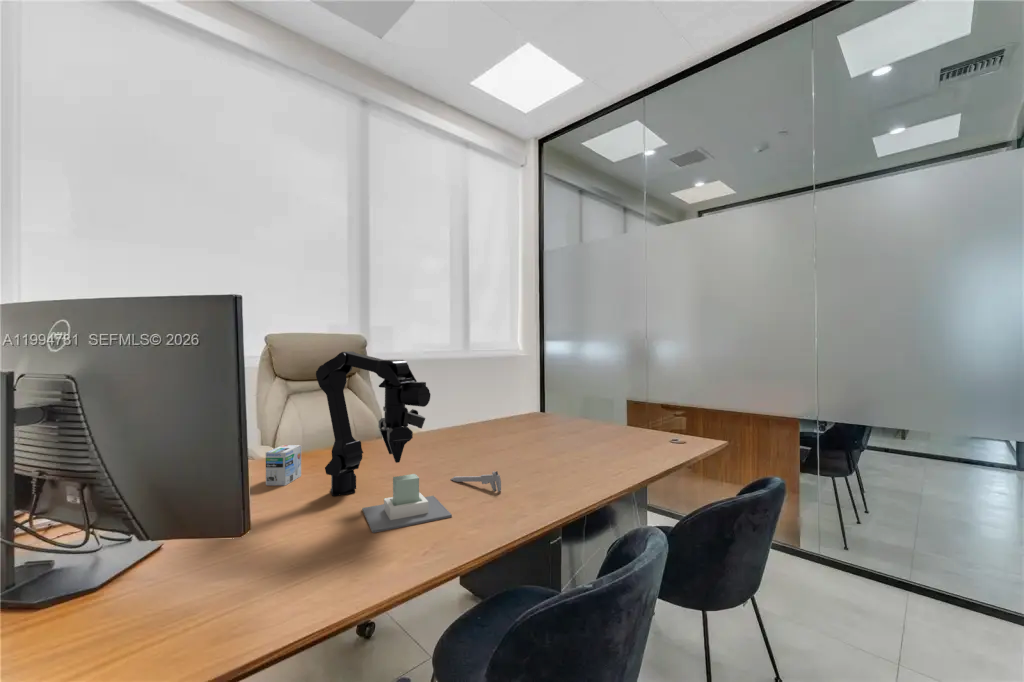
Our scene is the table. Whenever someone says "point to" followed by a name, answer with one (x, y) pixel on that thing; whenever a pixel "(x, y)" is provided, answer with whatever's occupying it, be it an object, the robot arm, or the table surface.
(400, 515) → the socket tray
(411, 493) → the key block
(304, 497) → the table surface
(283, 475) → the light bulb box
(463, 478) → the caliper
